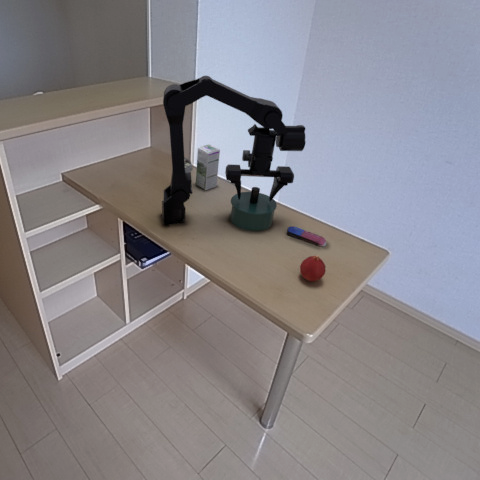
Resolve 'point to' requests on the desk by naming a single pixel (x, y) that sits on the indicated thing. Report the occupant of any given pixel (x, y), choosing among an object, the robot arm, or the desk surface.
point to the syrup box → (207, 167)
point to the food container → (187, 165)
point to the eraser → (306, 236)
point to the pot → (251, 220)
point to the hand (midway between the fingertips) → (254, 199)
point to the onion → (312, 268)
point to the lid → (253, 202)
